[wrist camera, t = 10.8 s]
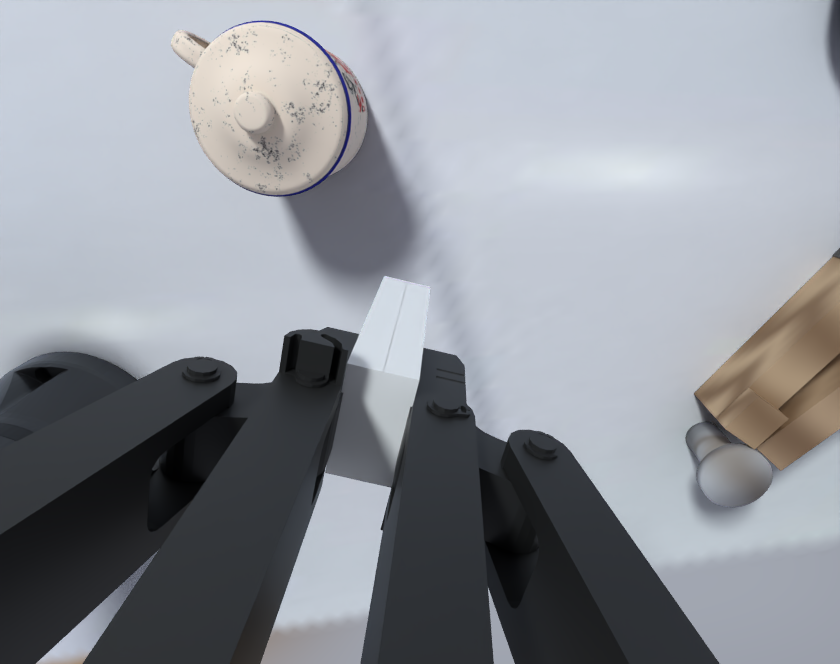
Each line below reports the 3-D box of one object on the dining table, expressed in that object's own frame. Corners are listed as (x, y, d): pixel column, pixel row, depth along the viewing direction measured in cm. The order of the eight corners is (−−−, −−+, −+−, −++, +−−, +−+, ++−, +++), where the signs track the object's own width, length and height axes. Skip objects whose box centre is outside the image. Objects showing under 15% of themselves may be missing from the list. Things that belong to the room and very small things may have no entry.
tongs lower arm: (716, 471, 47) (742, 505, 43) (678, 437, 46) (701, 469, 42) (959, 290, 40) (1019, 310, 36) (921, 246, 39) (977, 261, 35)
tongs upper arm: (702, 471, 47) (736, 517, 42) (649, 435, 46) (676, 478, 41) (935, 258, 39) (1014, 281, 34) (878, 210, 38) (949, 225, 33)
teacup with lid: (396, 95, 37) (374, 86, 27) (329, 205, 40) (285, 237, 30) (244, -17, 35) (152, -77, 25) (185, 107, 38) (81, 103, 28)
